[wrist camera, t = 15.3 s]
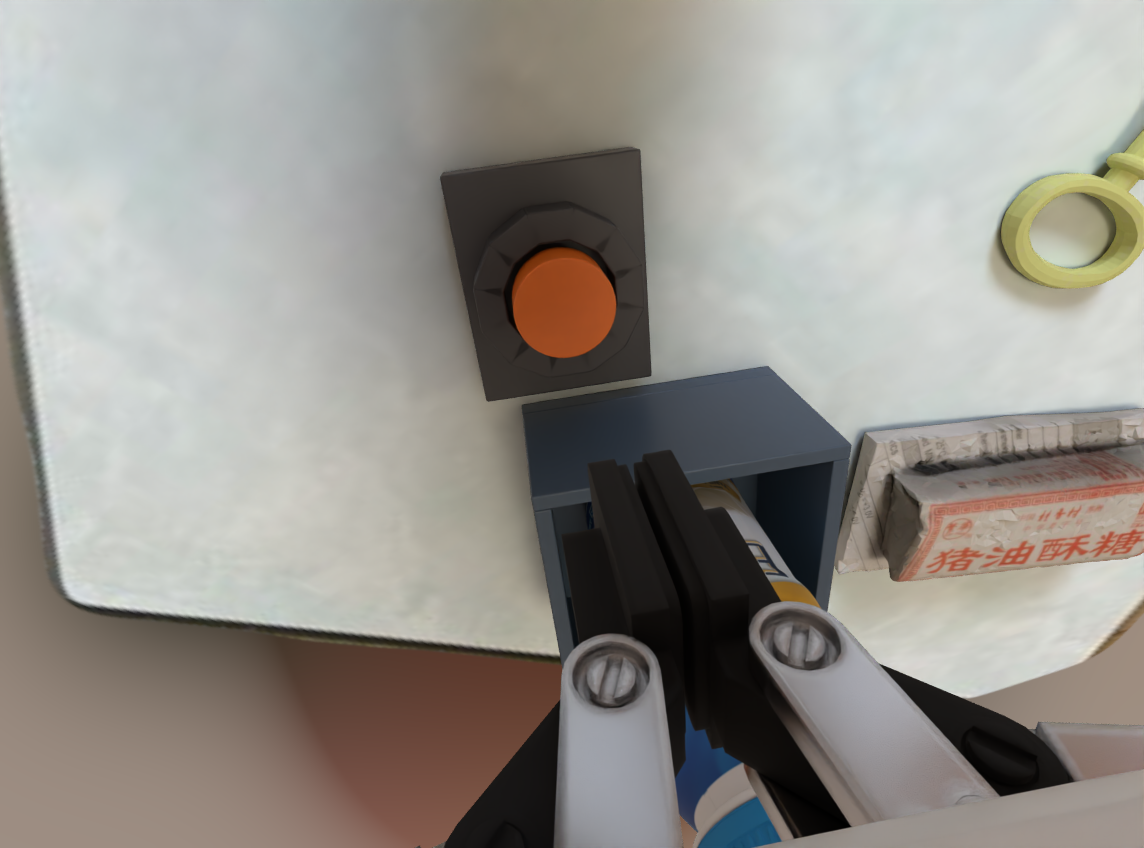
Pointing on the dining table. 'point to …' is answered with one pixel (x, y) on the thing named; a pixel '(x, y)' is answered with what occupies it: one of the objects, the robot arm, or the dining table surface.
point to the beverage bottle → (709, 776)
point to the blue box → (693, 465)
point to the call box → (535, 223)
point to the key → (1130, 216)
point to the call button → (562, 302)
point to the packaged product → (996, 495)
